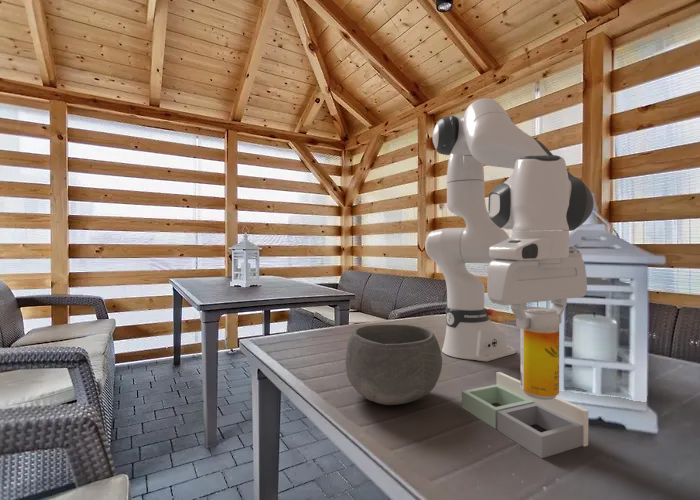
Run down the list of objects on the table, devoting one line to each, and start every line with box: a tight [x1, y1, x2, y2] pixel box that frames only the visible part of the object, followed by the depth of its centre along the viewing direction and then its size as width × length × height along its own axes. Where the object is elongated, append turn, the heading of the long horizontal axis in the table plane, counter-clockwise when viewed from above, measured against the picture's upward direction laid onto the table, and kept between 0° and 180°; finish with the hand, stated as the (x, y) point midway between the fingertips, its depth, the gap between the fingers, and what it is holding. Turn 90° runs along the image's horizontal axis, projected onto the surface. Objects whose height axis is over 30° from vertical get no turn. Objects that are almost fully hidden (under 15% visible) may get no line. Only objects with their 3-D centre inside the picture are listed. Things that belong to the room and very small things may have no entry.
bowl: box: [345, 323, 443, 406], centre depth 81 cm, size 21×21×15 cm
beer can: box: [519, 306, 560, 400], centre depth 65 cm, size 6×6×15 cm
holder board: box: [461, 371, 589, 459], centre depth 70 cm, size 10×20×6 cm, turn 22°
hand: (539, 325), depth 65 cm, fingers closed on beer can, 6 cm apart
